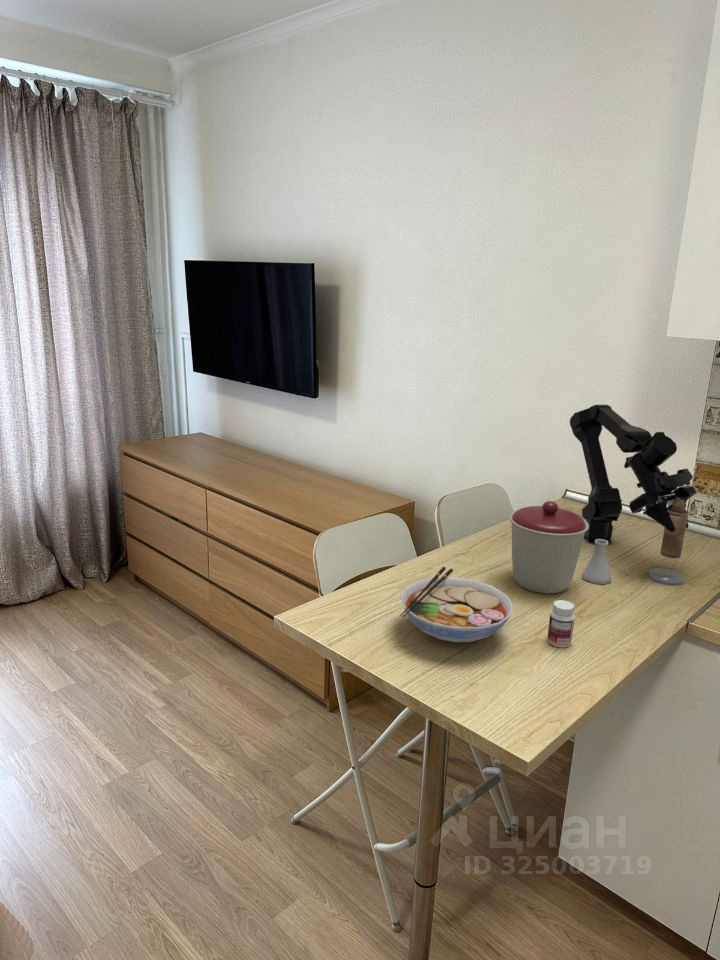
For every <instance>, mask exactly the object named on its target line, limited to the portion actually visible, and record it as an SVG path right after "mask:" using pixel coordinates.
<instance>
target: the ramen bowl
mask: <svg viewBox="0 0 720 960" xmlns="http://www.w3.org/2000/svg"><path fill="white" fill-rule="evenodd" d="M446 569H447V568H446V567H445V566H442V567H441V568H440V570H438V572H437V573H436V574H435V575H434V576H433V577H429V578H424V579H420V580H416V581H414V582H413V583H411V584H409V585H407V586H405V587H404V588H403V591H402V592H401V594H400V600H401V603H402V607H403V610H404V611H403V612H402V613H401V614H400V617H403V618H404V617H405V616H408V618H409V619H410V621H411V622H412V623H413V624H414V625H415V626H416V627H417V628H419V629H420V630H421V631H422V632H424V633H425V634H427V635H429V636H432V637H434V638H436V639H438V640H441V641H446V642H453V643H472V642H475V641H479V640H483V639H487V638H488V637H490V636H492V635H493V634H494V633H495V632H497V631H498V630H499V629H500V628H502V627H503V626H504V625H505V624H506V623H507V622H508V620H509V619H510V618H511V616H512V612H513V608H514V604H513V603H512V601H511V599H510V598H509V596H508V595H507V594H506V593H504V592H502V591H501V590H499V589H498V588H497V587H494V586H492V585H489V584H486V583H485V582H484V583H483V582H481V581H479V580H475V579H470V578H462V577H457V576H450V575H451V574H452V573H453V572H454V569H453V568H449V569H448V570H447V572H446V573H444V572H445V571H446ZM443 573H444V574H443ZM442 574H443V575H442ZM441 575H442V576H441ZM404 613H405V614H404ZM403 614H404V615H403Z"/></svg>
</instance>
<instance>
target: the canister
mask: <svg viewBox="0 0 720 960" xmlns="http://www.w3.org/2000/svg"><path fill="white" fill-rule="evenodd" d="M508 519H509V522H511V558H512V560H511V561H512V563H511V564H512V575H513V577H514V580H515V582H517V584H518V585H519V586H521V587H522V588H524V589H526V590H529V591H532V592H535V593H540V594H557V593H560V592H563V591H565V590H567V588H569V586H570V585H571V583H572V580H573V578H574V574H575V572H576V569H577V568H576V567H577V565H578V561H579V557H580V554H581V553H580V552H581V550H582V544H583V541H584V539H585V537H584V534H585V532H586V531H587V530H588V529H589V525H588V523H587V522H586V519H585V518H584V519H583V517H582V516H580V515H579V514H577V513H575V512H572V511H570V510H568V509H564V508H559V506H558V504H557V503H556V502H555V501H551V500H547V501H545V502H543V503H542V505H533V506H526V507H521V508H519V509H516V510H514V511H512V512H511V513H510V515H509V517H508Z"/></svg>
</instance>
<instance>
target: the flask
mask: <svg viewBox="0 0 720 960" xmlns="http://www.w3.org/2000/svg"><path fill="white" fill-rule="evenodd" d="M594 544H595V546H594V551H593V552H592V554H591V557H590V558H589V561H588V562H587V564H586V566H585V568H584V569H583V570H582V573H581V579H583V580H585V581H587V582H588V583H592V584H599V585H607V584H610V583H612V577H611V572H610V567H609V564H608V563H609V562H608V558H607V546H608V544H609V543H608V541H606V540H602V539H596V540H595V543H594Z"/></svg>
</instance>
